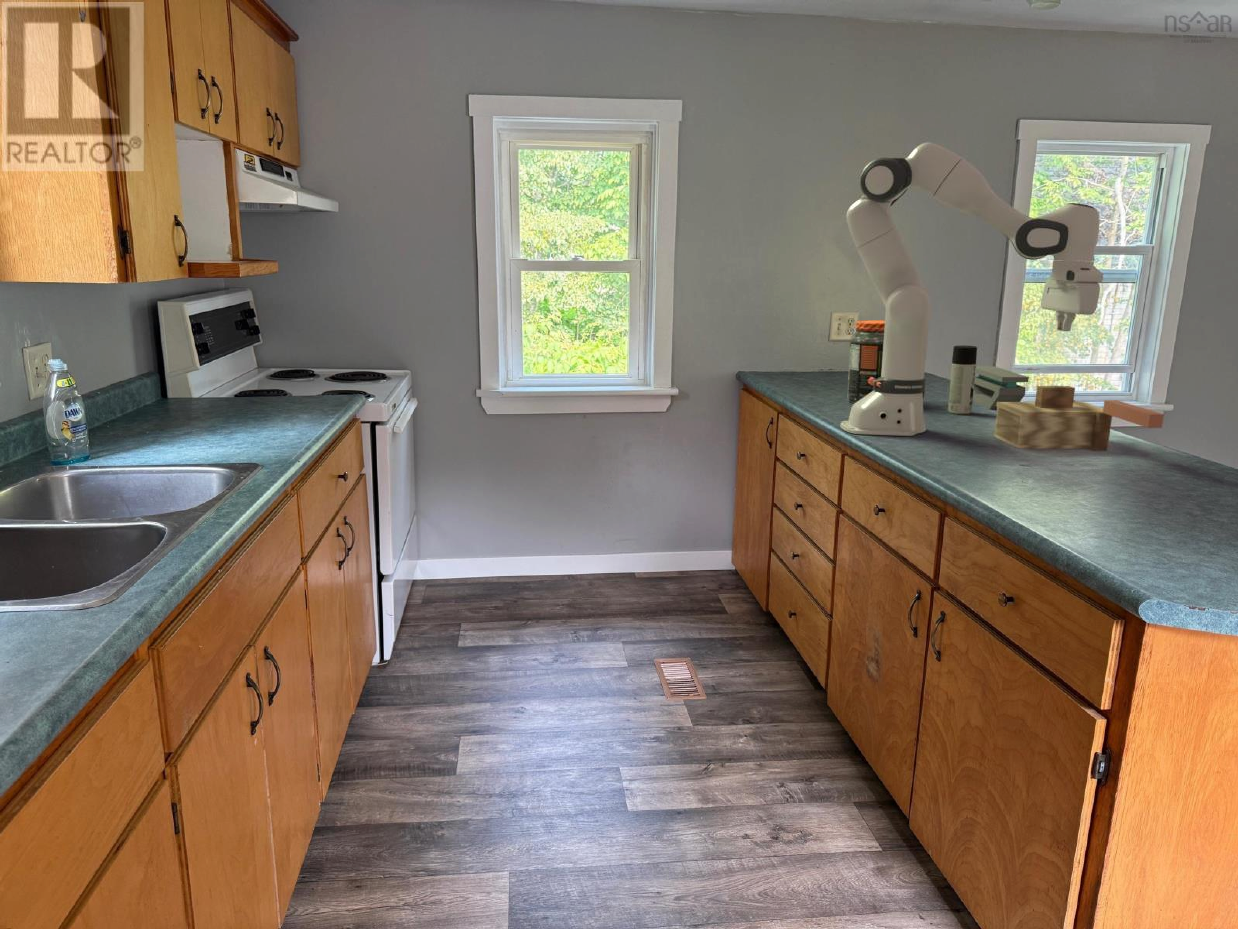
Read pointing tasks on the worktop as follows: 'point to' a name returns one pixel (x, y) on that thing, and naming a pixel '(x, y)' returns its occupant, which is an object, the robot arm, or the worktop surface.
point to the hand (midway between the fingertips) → (1063, 330)
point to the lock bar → (1133, 414)
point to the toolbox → (1053, 431)
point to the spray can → (962, 379)
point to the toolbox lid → (1052, 404)
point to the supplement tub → (865, 358)
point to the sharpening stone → (997, 386)
